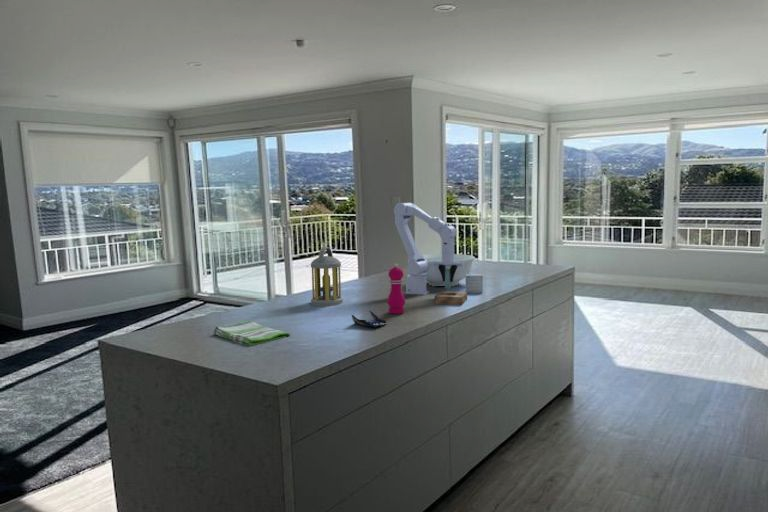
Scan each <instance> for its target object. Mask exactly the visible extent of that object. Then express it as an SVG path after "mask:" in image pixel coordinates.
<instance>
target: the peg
mask: <svg viewBox="0 0 768 512" xmlns="http://www.w3.org/2000/svg"><path fill="white" fill-rule="evenodd" d="M450 279H451V270H450V268H445V287H444V289H452V287H451V281H450Z"/></svg>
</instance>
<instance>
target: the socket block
mask: <svg viewBox="0 0 768 512" xmlns="http://www.w3.org/2000/svg"><path fill="white" fill-rule="evenodd" d="M467 300H468V293H467V292H466V291H451V290H450V291H448V290H447V291H445V290H444V291H443V290H441V291H439V292H438V293H437V294H435V295H434V304H439V305H456V306H457V305H459V306H462V305H463V304H465V302H466V301H467Z"/></svg>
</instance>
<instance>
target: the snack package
mask: <svg viewBox="0 0 768 512" xmlns="http://www.w3.org/2000/svg"><path fill="white" fill-rule="evenodd" d="M368 312H369V313H370V315H371V317H372V320H368V321H367V319H358V318H357V317H356V316H355V315H353V314H352V315H351V318H352V321H353V323H354V324H355V325H361V326H363V327H374V328H377V327H378V326H379V327H380V326H382V327H384V326H383V324H380V323H386V324H387V321H386V320H385V319H381V318H380V317H379V316H378V315H377V314H375V313H374V312H373V311H372V310H369V311H368ZM362 318H364V315H363V316H362ZM356 323H358V324H356ZM374 323H375V324H376V323H378V324H379V325H373V324H374ZM384 325H385V324H384ZM385 326H386V325H385Z"/></svg>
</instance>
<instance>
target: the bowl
mask: <svg viewBox="0 0 768 512" xmlns="http://www.w3.org/2000/svg"><path fill="white" fill-rule="evenodd" d="M421 255H422V256H423V257H424V259H425V260H426V261H427V262H428V264H429V270H428V271H427V274H426V280H427V282H428V285H429V286H430V285H432V286H431V287H435V286H445V282H443V279H442V275H441V273H440V271H439V269H438V267H439V266H437V265H435V266H432V261H442V253H430V254H421ZM475 258H476V257H475V256H474V255H470V254H462V253H461V254H459V253H454V261H457V262H464V266H463V267H461V266H458V267H457V269H456V272H455V274H454V278H453V282H451V286H452V287H456V286H455V285H457V286H458V284H459V285H460V281H462V280H464V279H466V274H470V272H471V270H472V266H473V261H475ZM443 265H452V264H443ZM450 267H452V266H446V268H450Z"/></svg>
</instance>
